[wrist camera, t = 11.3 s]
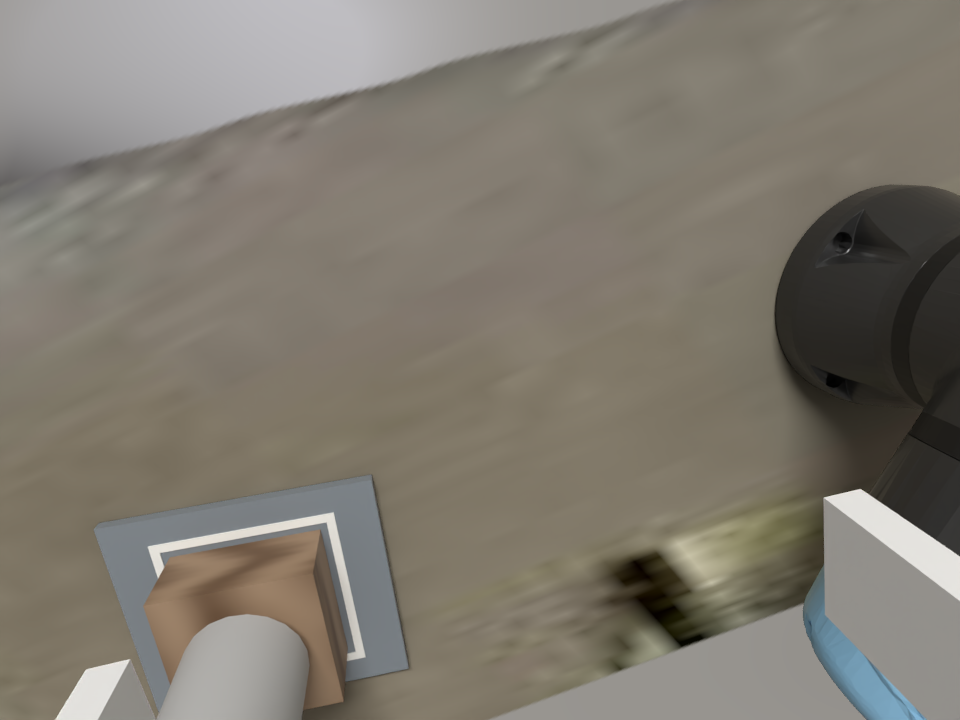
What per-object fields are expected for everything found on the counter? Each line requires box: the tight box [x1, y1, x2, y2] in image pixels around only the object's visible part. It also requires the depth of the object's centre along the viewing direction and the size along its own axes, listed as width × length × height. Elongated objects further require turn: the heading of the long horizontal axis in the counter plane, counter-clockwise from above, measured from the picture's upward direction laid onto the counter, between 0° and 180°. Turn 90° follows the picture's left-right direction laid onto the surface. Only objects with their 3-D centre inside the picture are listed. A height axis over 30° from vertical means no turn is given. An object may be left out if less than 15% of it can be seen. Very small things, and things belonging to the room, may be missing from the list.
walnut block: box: [143, 529, 348, 710], centre depth 42 cm, size 10×10×5 cm
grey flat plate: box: [94, 475, 409, 712], centre depth 45 cm, size 18×16×1 cm
